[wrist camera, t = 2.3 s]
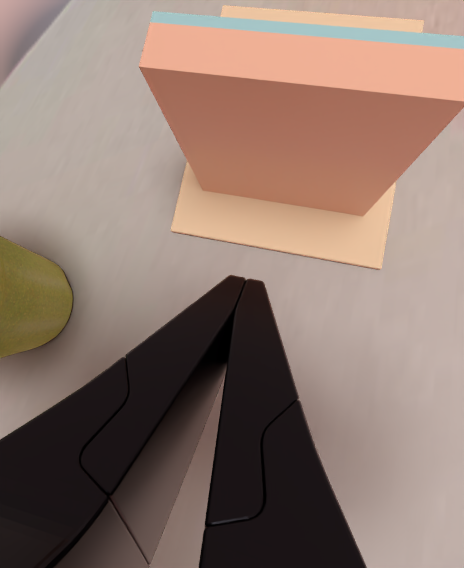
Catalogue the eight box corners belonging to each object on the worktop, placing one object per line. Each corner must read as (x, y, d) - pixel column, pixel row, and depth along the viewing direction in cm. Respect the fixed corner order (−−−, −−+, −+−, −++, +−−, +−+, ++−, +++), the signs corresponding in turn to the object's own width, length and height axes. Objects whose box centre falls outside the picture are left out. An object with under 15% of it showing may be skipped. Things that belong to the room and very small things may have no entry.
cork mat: (379, 269, 19) (381, 268, 18) (172, 231, 20) (170, 230, 20) (421, 24, 20) (424, 20, 20) (223, 9, 22) (223, 5, 21)
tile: (363, 216, 19) (468, 101, 9) (202, 190, 20) (139, 66, 10) (369, 183, 19) (478, 36, 9) (209, 160, 20) (153, 10, 10)
